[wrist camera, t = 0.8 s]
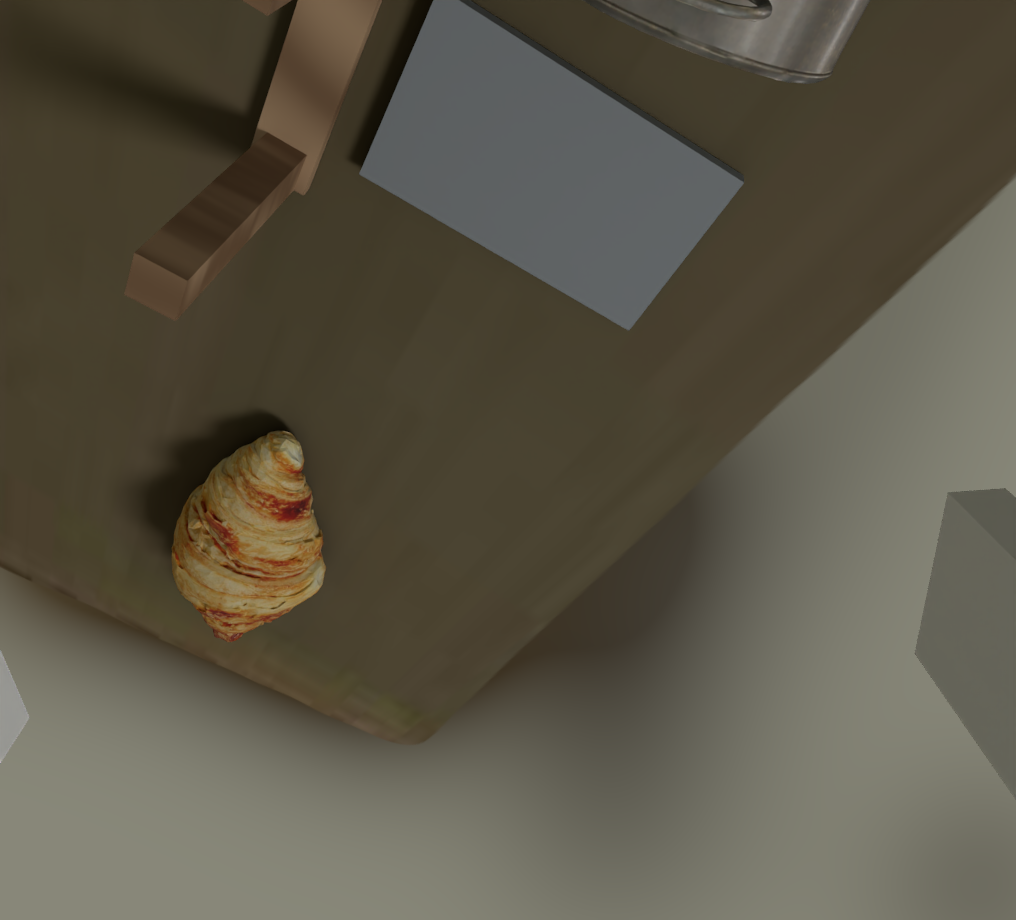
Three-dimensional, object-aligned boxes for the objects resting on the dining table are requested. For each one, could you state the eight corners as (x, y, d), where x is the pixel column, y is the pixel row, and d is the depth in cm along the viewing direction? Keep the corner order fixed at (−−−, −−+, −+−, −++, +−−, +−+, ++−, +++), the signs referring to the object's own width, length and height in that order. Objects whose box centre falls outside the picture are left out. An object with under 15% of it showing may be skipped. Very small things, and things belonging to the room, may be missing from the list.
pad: (443, -17, 35) (438, -13, 34) (743, 175, 37) (744, 182, 37) (364, 167, 40) (359, 174, 40) (629, 322, 43) (628, 330, 43)
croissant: (270, 368, 54) (160, 410, 48) (380, 467, 51) (278, 524, 46) (223, 570, 67) (133, 622, 62) (309, 657, 65) (223, 719, 59)
